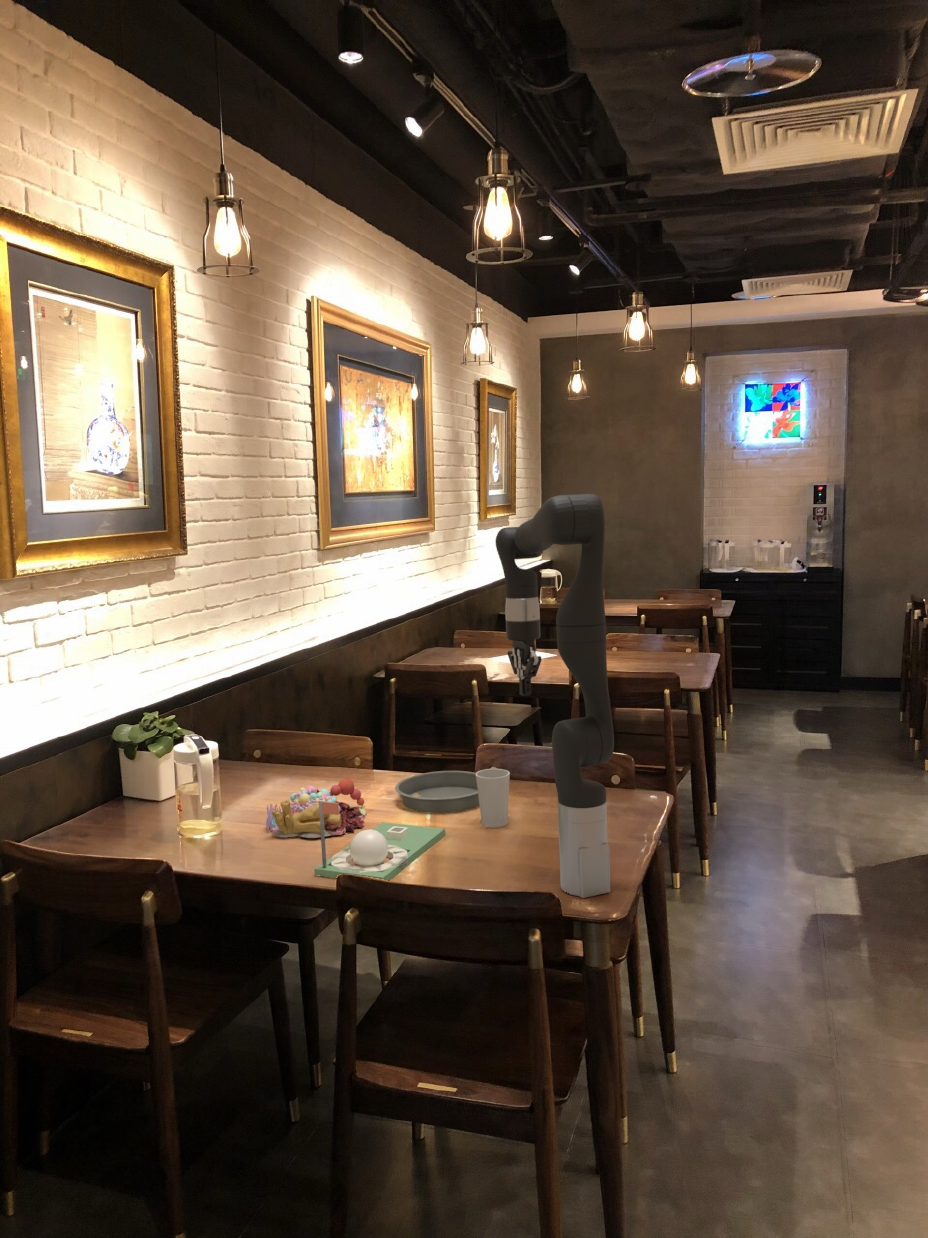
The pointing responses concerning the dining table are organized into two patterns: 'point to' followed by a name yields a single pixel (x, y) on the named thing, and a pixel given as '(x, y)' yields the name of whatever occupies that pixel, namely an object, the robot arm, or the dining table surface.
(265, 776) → the dining table surface
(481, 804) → the cup
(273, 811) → the coral reef model
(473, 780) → the round baking tin
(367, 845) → the ball
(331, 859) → the mini golf board
